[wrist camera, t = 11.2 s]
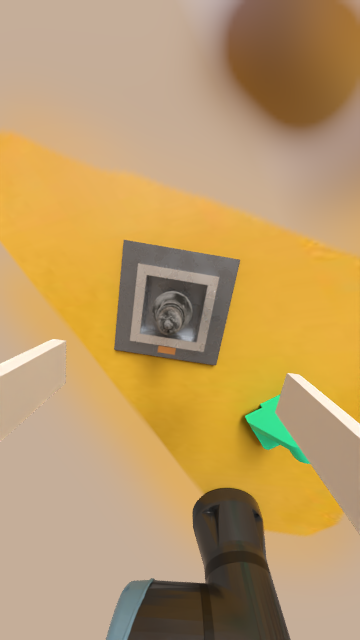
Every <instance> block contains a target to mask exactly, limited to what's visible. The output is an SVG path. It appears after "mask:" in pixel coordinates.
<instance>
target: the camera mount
mask: <svg viewBox="0 0 360 640" xmlns="http://www.w3.org/2000/svg"><path fill="white" fill-rule="evenodd" d="M280 395H281V394H280ZM280 395H278V396H276V397H274V398H272V399H270V400H268V401H266V402H264V403H262V404H260V405H261V406H262V408H260V409H258V410H256V411H254V412H252V413H250V414H248V415H246V416H245V417H246V420H247V422H248V423H249V425H250V427H251V428H252V430H253V432H254V433H255V435H256V436H257V438H258V440H259V441H260V443H261V444H262V446H263V448H264V449H267V450H269V449H272V448H274V447H276V446H278V445H282V446H284V447H285V448H287V449H289V450H290V452H291V453H292V455H293V456H294V457H295V458H296V459H297V460H298V461H300V462H303V463H307V464H310V462H309V461H308V459H307V458H306V456H305V455H304V454H303V452H302V451H301V449H300V448H299V446H298V445H297V444H296V442H295V441H294V439H293V438H292V436H291V435H290V433H289V432H288V431H287V429H286V428H285V426H284V425H283V423H282V422H281V420H280V419H279V418H278V416H277V415H276V413H275V411H276V407H277V404H278V401H279V398H280Z"/></svg>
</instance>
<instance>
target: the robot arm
mask: <svg viewBox="0 0 360 640" xmlns="http://www.w3.org/2000/svg"><path fill="white" fill-rule="evenodd" d="M65 382H66V341H64V340H57V339H52V340H50V341H47V342H45V343H43V344H41V345H39V346H37V347H35V348H33V349H31V350H28V351H26V352H24V353H22V354H20V355H18V356H16V357H13V358H12V359H9V360H7V361H5V362H3V363H1V364H0V442H1V441H2V440H3V439H4V438H5V437H7V436H8V435H9V434H10V433H11V432H12V431H13V430H14V429H15V428H16V427H18V426H19V425H20V424H21V423H22V422H23V421H24V420H25V419H26V418H28V417H29V416H30V415H31V414H32V413H33V412H34V411H35V410H36V409H37V408H39V407H40V406H41V405H42V404H43V403H44V402H45V401H46V400H47V399H49V398H50V397H51V396H52V395H53V394H54V393H55V392H56V391H57V390H58V389H60V388H61V387H62V386H63V385H64V384H65ZM275 413H276V415H277V416H278V418H279V419H280V420H281V422H282V423H283V425H284V426H285V428H286V429H287V431H288V432H289V433H290V435H291V436H292V438H293V439H294V441H295V442H296V444H297V445H298V446H299V448H300V449H301V451H302V452H303V454H304V455H305V456H306V458H307V459H308V461H309V462H310V464H311V465H312V467H313V468H314V469H315V471H316V472H317V474H318V475H319V477H320V478H321V480H322V481H323V482H324V484H325V485H326V487H327V488H328V490H329V491H330V493H331V494H332V495H333V497H334V498H335V500H336V501H337V503H338V504H339V505H340V507H341V508H342V510H343V511H344V513H345V514H346V516H347V517H348V518H349V520H350V521H351V523H352V524H353V526H354V527H355V529H356V530H357V531H358V533H359V534H360V424H359V423H358V422H357V421H355V420H354V419H353V418H352V417H351V416H349V415H348V414H347V413H346V412H344V411H343V410H342V409H341V408H340V407H338V406H337V405H336V404H335V403H333V402H332V401H331V400H330V399H329V398H327V397H326V396H325V395H324V394H322V393H321V392H320V391H319V390H318V389H316V388H315V387H314V386H313V385H311V384H310V383H309V382H308V381H307V380H305V379H304V378H303V377H302V376H300V375H297V374H291V373H287V375H286V378H285V382H284V385H283V388H282V391H281V395H280V398H279V401H278V404H277V407H276V411H275ZM193 528H194V532H195V536H196V539H197V543H198V546H199V550H200V553H201V557H202V560H203V564H204V569H205V580H206V584H205V583H190V582H171V581H157V580H155V579H152V578H151V579H150V580H143V581H132V582H130V583H129V584H128V585H127V586H126V587H125V588H124V590H123V591H122V594H121V596H120V598H119V600H118V603H117V606H116V608H115V611H114V614H113V617H112V620H111V624H110V627H109V630H108V634H107V637H106V640H290V637H289V633H288V630H287V627H286V624H285V620H284V617H283V613H282V610H281V607H280V604H279V600H278V597H277V594H276V591H275V587H274V584H273V580H272V578H271V575H270V571H269V568H268V564H267V560H266V550H265V538H264V526H263V519H262V515H261V512H260V509H259V506H258V504H257V502H256V500H255V499H254V498H253V497H252V496H251V495H249V494H248V493H246V492H244V491H241V490H237V489H231V488H224V489H217V490H214V491H211V492H208V493H207V494H205V495H203V496H202V497H201V498H200V499H199V500H198V501H197V502H196V504H195V506H194V508H193Z"/></svg>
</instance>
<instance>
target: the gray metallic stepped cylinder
mask: <svg viewBox="0 0 360 640" xmlns="http://www.w3.org/2000/svg"><path fill="white" fill-rule="evenodd" d="M192 312H193V311H192V305H191V303H190V301H189V300H188V298H187V297H186V296H185V295H183V294H182V293H179V292H175V291H169V292H165V293H163V294H161V295H160V296H159V297H157V299H156V300H155V301H154V304H153V307H152V314H153V318H154V320H155V322H156V323H157V327H158V329H159V330H160V332H162V333H163V334H165V335H173V334H175V333H177V332H178V331H179V330H180V329H182V328H184V327H185V326H186V325H187V324H188V323H189V322H190V320H191V317H192Z"/></svg>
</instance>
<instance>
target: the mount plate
mask: <svg viewBox="0 0 360 640" xmlns="http://www.w3.org/2000/svg"><path fill="white" fill-rule="evenodd" d="M239 263H240V260H238V259H232V258H226V257H220V256H215V255H209V254H203V253H197V252H191V251H186V250H180V249H174V248H168V247H162V246H157V245H151V244H145V243H139V242H133V241H128V240H124V244H123V256H122V267H121V279H120V291H119V302H118V314H117V325H116V337H115V348H114V350H120V351H127V352H133V353H140V354H146V355H152V356H159V357H165V358H172V359H178V360H185V361H191V362H197V363H204V364H210V365H216V363H217V359H218V354H219V350H220V346H221V341H222V337H223V333H224V328H225V324H226V319H227V315H228V311H229V306H230V302H231V298H232V293H233V289H234V284H235V280H236V276H237V271H238V267H239ZM169 291H175V292H179V293H182V294H183V295H185V296H186V297H187V298H188V300H189V301H190V303H191V305H192V311H193V312H192V317H191V320H190V322H189V323H188V324H187V325H186V326H185V327H184V328H182V329H180V330H179V331H178V332H177V333H175V334H173V335H165V334H163V333H162V332H160V330H159V329H158V327H157V323H156V322H155V320H154V318H153V314H152V307H153V304H154V301H155V300H156V299H157V297H159V296H160V295H161V294H163V293H165V292H169Z"/></svg>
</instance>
